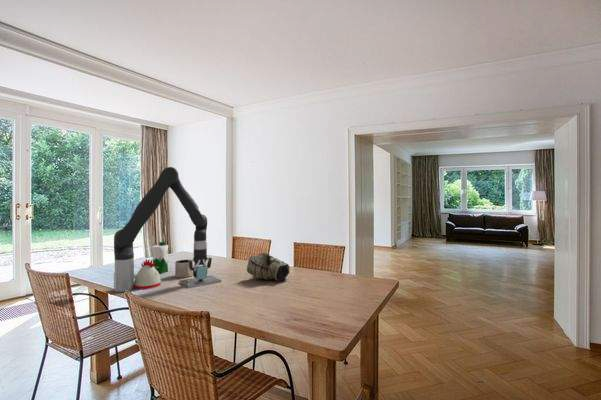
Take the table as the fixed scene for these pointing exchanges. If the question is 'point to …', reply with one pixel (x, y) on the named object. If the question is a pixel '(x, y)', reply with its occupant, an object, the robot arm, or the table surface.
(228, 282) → the table surface
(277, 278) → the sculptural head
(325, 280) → the table surface
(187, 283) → the shaft plate
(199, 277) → the teal plastic block
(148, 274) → the kitchen timer
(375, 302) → the table surface
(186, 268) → the planter
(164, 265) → the milk carton
